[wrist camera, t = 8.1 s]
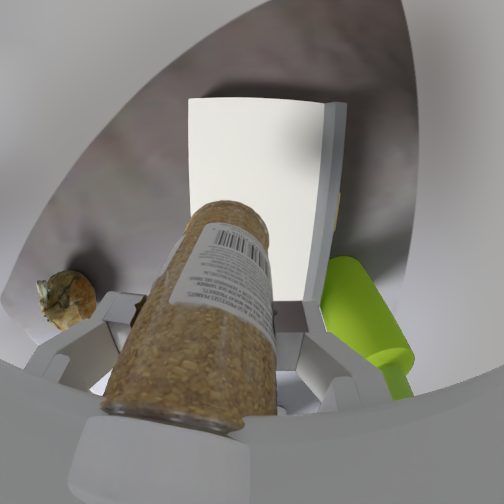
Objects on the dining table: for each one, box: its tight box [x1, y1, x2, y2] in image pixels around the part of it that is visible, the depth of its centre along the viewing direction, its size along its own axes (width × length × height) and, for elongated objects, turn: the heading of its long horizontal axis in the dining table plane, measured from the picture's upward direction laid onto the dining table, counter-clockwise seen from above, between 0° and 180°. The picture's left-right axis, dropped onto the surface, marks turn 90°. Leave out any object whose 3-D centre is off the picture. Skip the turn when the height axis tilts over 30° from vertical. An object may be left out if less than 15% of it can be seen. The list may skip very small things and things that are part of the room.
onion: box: [36, 270, 96, 331], centre depth 26 cm, size 8×8×8 cm
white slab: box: [188, 97, 347, 307], centre depth 22 cm, size 20×11×6 cm, turn 178°
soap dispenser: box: [320, 256, 415, 401], centre depth 20 cm, size 6×7×20 cm
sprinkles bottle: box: [67, 200, 278, 504], centre depth 9 cm, size 5×5×14 cm
